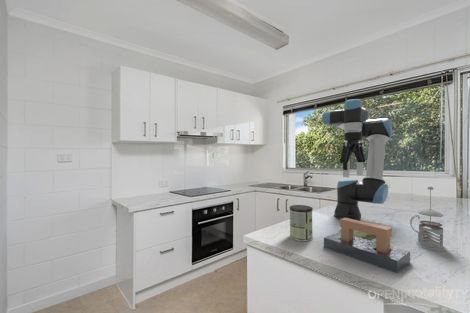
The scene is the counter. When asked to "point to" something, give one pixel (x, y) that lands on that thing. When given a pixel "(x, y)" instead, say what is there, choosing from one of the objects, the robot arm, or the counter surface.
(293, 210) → the coffee can
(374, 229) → the staple
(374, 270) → the counter surface
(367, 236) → the washcloth
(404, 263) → the grey slotted base block
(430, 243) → the french press
